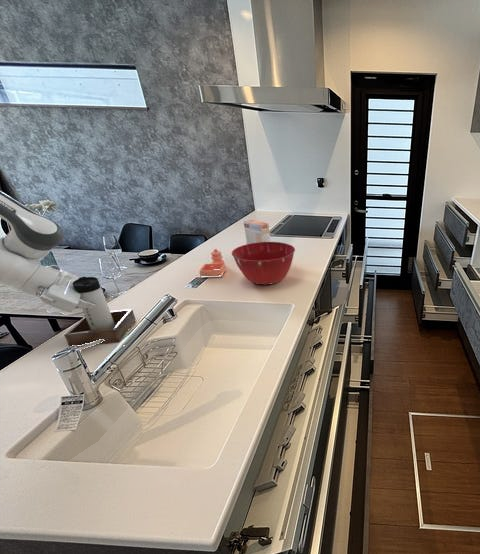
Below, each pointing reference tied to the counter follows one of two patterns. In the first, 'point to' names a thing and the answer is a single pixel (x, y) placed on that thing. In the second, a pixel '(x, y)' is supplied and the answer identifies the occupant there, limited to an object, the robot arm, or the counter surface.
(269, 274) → the mixing bowl
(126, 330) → the basket
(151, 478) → the counter surface
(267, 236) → the cracker box
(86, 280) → the travel mug
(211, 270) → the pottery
